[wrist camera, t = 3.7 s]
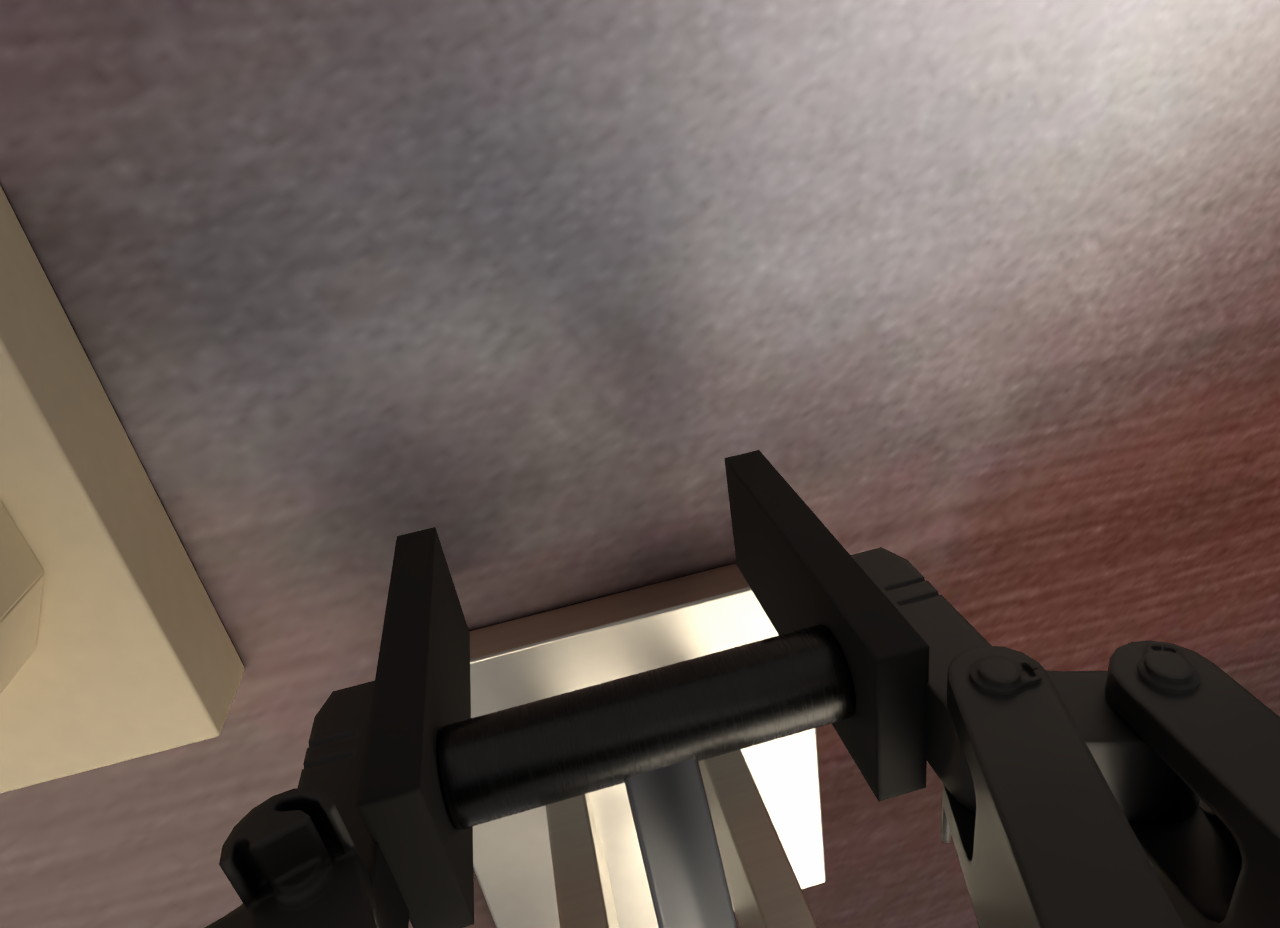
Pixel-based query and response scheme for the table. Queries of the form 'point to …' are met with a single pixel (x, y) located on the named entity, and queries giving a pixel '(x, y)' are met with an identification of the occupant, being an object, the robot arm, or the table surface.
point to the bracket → (602, 820)
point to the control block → (87, 564)
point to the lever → (650, 753)
